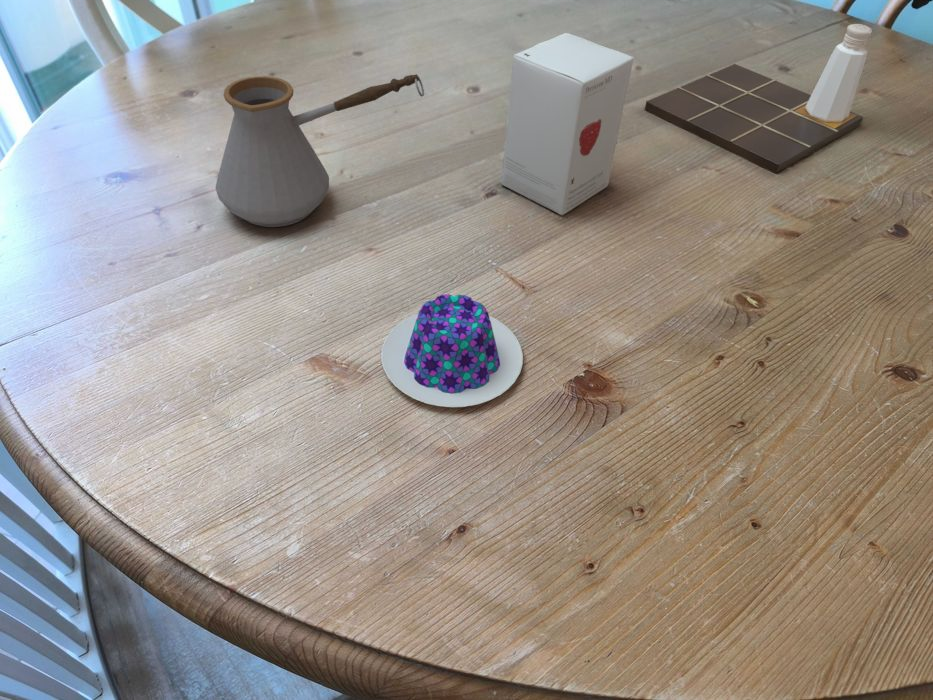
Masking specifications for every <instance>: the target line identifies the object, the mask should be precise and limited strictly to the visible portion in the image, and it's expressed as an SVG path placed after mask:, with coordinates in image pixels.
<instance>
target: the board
mask: <svg viewBox="0 0 933 700" xmlns="http://www.w3.org/2000/svg"><path fill="white" fill-rule="evenodd" d="M811 95H812V94H809V93H807V92H804V91H803V90H799V89H797V88H795V87H793V86H790V85H787V84H785V83H782V82H780V81H778V80H777V79H776V78H774V79H773V78H771V77H768V76H766V75H763V74H761V73H758V72H756V71H753V70H751V69H748V68H746V67H743V66H741V65H738V64H736V63H733V64H731V65H729V66H726V67H723V68H721V69H718V70H716V71H715V72H712V73H709V74H705V76H703V77H700V78H698V79H696V80H694V81H693V80H692V81H691V82H688V83H686V84H683V85H682V86H677V87H676V88H675V89H672V90H669V91H667V92H665V93H662V94H660V95H658V96H655V97H653V98H650V99H649V100H646V102H645V105H644V111H646V112H649V113H650V114H653V115H655V116H657V117H658V118H661V119H662V120H665V121H666V122H669V123H671V124H673V125H675V126H677V127H679V128H681V129H683V130H685V131H688V132H690V133H692V134H694V135H696V136H698V137H700V138H702V139H704V140H706V141H708V142H710V143H712V144H715V145H717V146H718V147H720V148H722V149H724V150H726V151H729V152H730V153H733V154H734V155H737V156H739V157H741V158H743V159H745V160H747V161H750V162H751V163H753V164H755V165H758V166H759V167H762V168H764V169H766V170H768V171H770V172H772V173H773V174H777V173H779V172H781V171H783V170H784V169H786V168H788V167H790V166H792V165H794V164H795V163H797V162H799V161H800V160H802V159H803V158H805V157H807V156H808V155H810V154H812V153H814V152H816V151H817V150H819V149H821V148H822V147H825V146H826V145H827V144H829V143H832V142H833V141H835V140H836V139H839V138H840V137H842V136H843V135H845V134H847V133H849V132H850V131H852V130H854V129H856V128H857V127H859V126H861V124H862V123H863V119H864V116H863V115H861V114H858V113H856V112H853V111H851V110H850V113H849V116H848V117H847V118H846V119H844V120H843V121H842V122H824V121H822V120H819V119H817V118H814V117H811V116H810V115H809V113H808V112H807V111H806V109H805V107H806V105H807V103H808V101H809V99H810V97H811Z"/></svg>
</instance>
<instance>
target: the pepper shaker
mask: <svg viewBox="0 0 933 700" xmlns="http://www.w3.org/2000/svg"><path fill="white" fill-rule="evenodd" d="M872 34H873V30H872V28H871V27H870V26H868V25H865V24H861V23H851V24H849V25H847V27H846V33H845V34H844V37H843V40H842V42H841V43H839V44H837V45H835V48H834V49H833V51H832V53H831V55H830V56H829V59H828V61H827V63H826V64H825V66H824V69H823V71H822V73H821V75H820V77H819V79H818V81H817V83H816V85H815V86H814V89H813V91H812V93H811V94H810V95H811V97H810V99H809V101H808V103H807V105H806V107H805V109H806V111H807V112H808V113H809V115H810V116H811V117H814V118H817V119H819V120H822V121H824V122H842V121H843V120H844V119H846V118H847V117H848V116H849V113H850V111H851V110H852V106H853V103H854V99H855V96H856V93H857V90H858V87H859V83H860V80H861V76H862V73H863V70H864V67H865V63H866V60H867V56H868V49H866V48H865V47H866V44H867V43H868V41H869V37H871V36H872Z"/></svg>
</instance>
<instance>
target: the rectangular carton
mask: <svg viewBox="0 0 933 700" xmlns="http://www.w3.org/2000/svg"><path fill="white" fill-rule="evenodd" d="M633 63H634V57H633V56H631V55H628V54H626V53H624V52H621V51H618V50H615V49H612V48H609V47H606V46H604V45H601V44H598V43H596V42H593V41H591V40H589V39H585V38H583V37H580V36H578V35H575V34H572V33H569V32H564V33H561V34H560V35H557V36H555V37H553V38H550V39H548V40H544V41H541V42H539V43H537V44H535V45H534V46H531V47H529V48H527V49H525V50H522V51H520V52H517V53H515V54H513V55H512V65H511V74H510V77H511V78H510V86H509V96H508V99H509V100H508V107H507V108H508V109H507V119H506V127H505V138H504V139H505V140H504V149H503V160H502V162H503V163H502V172H501V180H500V181H501V182H500V185H502V186H503V187H505V188H508V189H510V190H511V191H513V192H515V193H517V194H519V195H521V196H523V197H525V198H527V199H529V200H531V201H533V202H534V203H537V204H538V205H540V206H543V207H545V208H547V209H548V210H551V211H552V212H554V213H556V214H558V215H560V216H564V215H565V214H568V213H569V212H571V211H572V210H574V209H575V208H577V207H578V206H579V205H581V204H583V203H584V202H586V201H587V200H588V199H591V198H592V197H593V196H595V195H596V194H598V193H600V192H601V191H602V190H604V189H606V188H607V187H608V186H609V183H610V182H609V181H610V176H611V172H612V166H613V161H614V158H615V152H616V148H617V147H616V146H617V143H618V137H619V133H620V127H621V122H622V117H623V111H624V107H625V103H626V102H625V101H626V97H627V93H628V87H629V83H630V78H631V73H632V68H633Z"/></svg>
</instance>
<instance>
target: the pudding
mask: <svg viewBox="0 0 933 700" xmlns="http://www.w3.org/2000/svg"><path fill="white" fill-rule="evenodd" d="M380 354H381V356H380V357H381V358H380V359H381V364H382V368H383V371H384V373H385V374H386V377H387V379H388V380H389V381H390V382H391V383H392V384H393V386H395V388H397V389H398V390H399V391H400V392H402V393H403V394H405V395H407V396H408V397H410V398H411V399H414V400H417V401H419V402H421V403H425V404H427V405H432V406H436V407H445V408H465V407H471V406H476V405H480V404H484V403H486V402H490V401H491V400H493V399H495V398H497V397H499V396H501V395H502V394H503V393H505V392H507V390H509V389H510V388H511V387H512V386H513V385H514V384H515V382H516V381H517V380H518V378H519V376H520V374H521V371H522V368H523V366H524V365H523V363H524V355H523V349H522V346H521V344H520V341H519V340H518V338H517V337H516V335H515V334H514V332H513V331H512V330H511V329H510V328H509V327H508V326H507V325H506V324H504V323H503V322H501V321H500V320H498V319H497V318H495V317H493V316H491V315H490V314H489V312H488V310H487V308H486V306H485V305H484V304H482V302H479V301H476V300H475V301H474V300H473V298H472V297H470V296H468V295H467V294H457V295H452V294H449V293H447V294H441V295H437V296H436V298H435V299H433V300H428V301H427V302H425V303H423V304H422V306H421V308H420V309H419V311H418V312H417V313H414V314H412V315H410V316H408V317H406V318H405V319H403V320H401V321H399V323H398V324H396V325H395V326H394V327H393V328H392V329H391V331H390V332H389V333H388V334H387V335H386V338H385V340H384V341H383V343H382V347H381V351H380Z"/></svg>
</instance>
